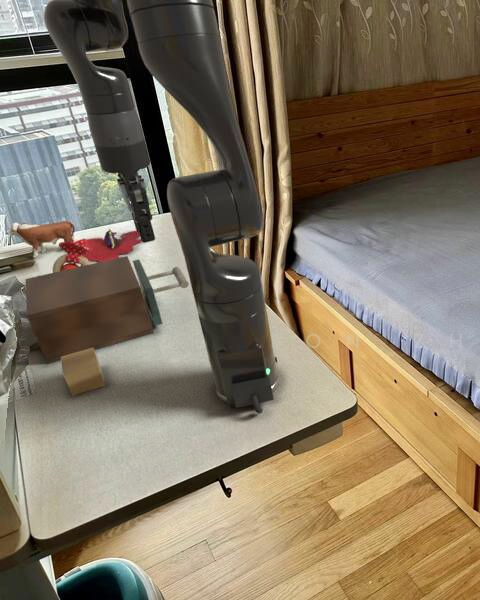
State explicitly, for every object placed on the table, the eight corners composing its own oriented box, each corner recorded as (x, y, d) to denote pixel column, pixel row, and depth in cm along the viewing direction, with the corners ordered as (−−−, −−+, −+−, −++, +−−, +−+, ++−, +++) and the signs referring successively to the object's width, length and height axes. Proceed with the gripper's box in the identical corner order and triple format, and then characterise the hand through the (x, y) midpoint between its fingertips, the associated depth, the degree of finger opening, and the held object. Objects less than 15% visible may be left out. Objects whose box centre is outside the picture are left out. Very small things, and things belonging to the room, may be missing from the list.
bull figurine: (20, 253, 128) (7, 221, 124) (82, 245, 131) (71, 213, 127) (14, 261, 125) (1, 228, 120) (79, 252, 128) (67, 220, 124)
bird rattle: (75, 306, 110) (114, 281, 111) (32, 265, 104) (74, 239, 105) (77, 292, 115) (115, 269, 116) (36, 253, 109) (76, 228, 110)
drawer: (182, 284, 111) (173, 251, 107) (198, 313, 101) (189, 277, 97) (60, 315, 101) (46, 280, 97) (65, 351, 91) (50, 313, 87)
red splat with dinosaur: (146, 268, 127) (143, 251, 124) (76, 277, 121) (70, 259, 119) (142, 231, 140) (138, 215, 137) (78, 238, 134) (73, 221, 131)
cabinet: (140, 298, 108) (127, 255, 103) (154, 332, 97) (140, 286, 92) (43, 323, 101) (25, 278, 96) (47, 363, 90) (26, 315, 85)
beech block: (105, 385, 84) (96, 361, 82) (72, 396, 82) (62, 372, 80) (102, 370, 88) (93, 347, 86) (70, 380, 86) (60, 356, 84)
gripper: (151, 144, 84) (176, 244, 93) (136, 127, 95) (160, 219, 104) (98, 152, 81) (129, 255, 90) (89, 133, 92) (117, 227, 100)
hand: (145, 235), depth 97 cm, fingers open, 5 cm apart
